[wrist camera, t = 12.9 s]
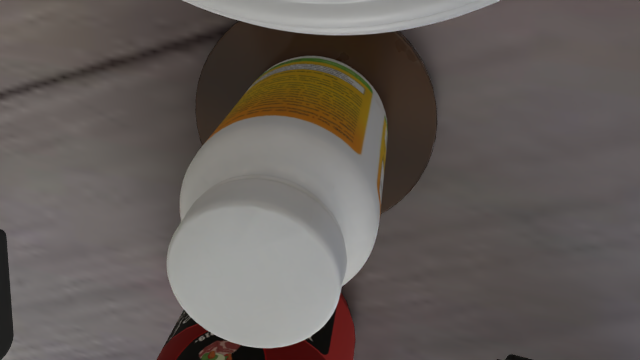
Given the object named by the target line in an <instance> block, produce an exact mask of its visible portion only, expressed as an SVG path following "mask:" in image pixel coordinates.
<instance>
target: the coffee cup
mask: <svg viewBox="0 0 640 360" xmlns="http://www.w3.org/2000/svg"><path fill="white" fill-rule="evenodd" d="M182 1H185V2H187V3H189V4H192V5H194V6H197V7H199V8H202V9H205V10H207V11H210V12H213V13H216V14H219V15H222V16H225V17H228V18H231V19H235V20H239V21H242V22H246V23H250V24H253V25H258V26H262V27H266V28H271V29H277V30H282V31H289V32H296V33H305V34H316V35H365V34H377V33H386V32H394V31H400V30H406V29H412V28H416V27H421V26H426V25H430V24H434V23H437V22H441V21H445V20H448V19H452V18H455V17H458V16H461V15H464V14H467V13H470V12H473V11H476V10H478V9H481V8H483V7H486V6H488V5H491V4H493V3H496V2H498V1H500V0H182Z"/></svg>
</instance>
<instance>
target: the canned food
mask: <svg viewBox="0 0 640 360" xmlns="http://www.w3.org/2000/svg"><path fill="white" fill-rule="evenodd" d="M354 347H355V330H354V324H353V321H352V317H351V314H350V311H349V308H348V305H347V302H346V300H345V298H344V297H343V295H342V293H340V298H339V301H338V304H337V307H336V309H335V311H334V313H333V314H332V316H331V317H330V319H329V320H328V321H327V323H326V324H325V325H324V326H323V327H322V328H321V329H320V330H319V331H317V332H316V333H315V334H313V335H312V336H310V337H309V338H307V339H305V340H303V341H301V342H298V343H296V344H292V345H288V346H284V347H276V348H255V347H248V346H242V345H239V344H236V343H232V342H230V341H227V340H225V339H223V338H220V337H218V336H216V335H214V334H213V333H211V332H209V331H208V330H206V329H205V328H203V327H202V326H201V325H199V324H198V323H197V322H195V321H194V320H193V319H192V318H191V317H190V316H189V315H188V313H187V312H186V311H185V310H184V311H183V313H182V314H181V316H180V318H179V320H178V322H177V323H176V325H175V327H174V329H173V331H172V333H171V334H170V336H169V338H168V340H167V342H166V343H165V345H164V347H163V349H162V351H161V353H160V354H159V356H158V358H157V360H353V356H354Z"/></svg>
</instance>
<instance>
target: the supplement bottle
mask: <svg viewBox="0 0 640 360" xmlns="http://www.w3.org/2000/svg"><path fill="white" fill-rule="evenodd" d="M387 137H388V130H387V118H386V113H385V110H384V107H383V104H382V101H381V99H380V97H379V95H378V94H377V92H376V91H375V89H374V88H373V86H372V85H371V84H370V83H369V82H368V81H367V80H366V79H365V78H364V77H363V76H362V75H361V74H360V73H358V72H357V71H356V70H354V69H353V68H351V67H350V66H348V65H346V64H344V63H342V62H340V61H337V60H334V59H331V58H326V57H321V56H302V57H296V58H291V59H288V60H285V61H283V62H280V63H278V64H276V65H274V66H273V67H271V68H269V69H268V70H267V71H265V72H264V73H263V74H262V75H261V76H260V77H259V78H258V79H257V80H256V81H255V82H254V83H253V84H252V85H251V87H250V88H249V89H248V90H247V91H246V93H245V94H244V95H243V97H242V98H241V99H240V100H239V102H238V103H237V104H236V105H235V107H234V108H233V109H232V110H231V112H230V113H229V114H228V115H227V117H226V118H225V119H224V120H223V121H222V123H221V124H220V125H219V126H218V128H217V129H216V130H215V131H214V132H213V134H212V135H211V136H210V137H209V138H208V140H207V141H206V142H205V143H204V145H203V146H202V147H201V148H200V150H199V151H198V152H197V154H196V156H195V157H194V159H193V160H192V162H191V163H190V165H189V167H188V169H187V171H186V174H185V176H184V179H183V183H182V187H181V193H180V218H181V223H180V225H179V226H178V228H177V229H176V231H175V233H174V235H173V237H172V239H171V241H170V244H169V248H168V253H167V275H168V279H169V282H170V285H171V288H172V291H173V293H174V295H175V297H176V298H177V300H178V302H179V303H180V305H181V306H182V308H183V309H184V310H185V311H186V312H187V313H188V315H189V316H190V317H191V318H192V319H193V320H194V321H195V322H197V323H198V324H199V325H201V326H202V327H203V328H205V329H206V330H208V331H209V332H211V333H213V334H214V335H216V336H218V337H220V338H223V339H225V340H227V341H230V342H232V343H236V344H239V345H242V346H248V347H255V348H276V347H284V346H288V345H292V344H296V343H298V342H301V341H303V340H305V339H307V338H309V337H310V336H312V335H313V334H315V333H316V332H317V331H319V330H320V329H321V328H322V327H323V326H324V325H325V324H326V323H327V321H328V320H329V319H330V317H331V316H332V314H333V313H334V311H335V309H336V307H337V304H338V301H339V298H340V293H341V288H342V286H343V285H345V284H346V283H347V282H348V281H350V280H351V279H352V278H353V277H354V276H355V275H356V274H357V273H358V272H359V271H360V269H361V268H362V267H363V265H364V264H365V263H366V261H367V259H368V257H369V256H370V254H371V251H372V249H373V246H374V244H375V240H376V237H377V232H378V228H379V221H380V214H381V200H382V189H383V179H384V169H385V161H386V150H387Z"/></svg>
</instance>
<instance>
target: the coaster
mask: <svg viewBox="0 0 640 360" xmlns="http://www.w3.org/2000/svg"><path fill="white" fill-rule="evenodd" d="M302 56H321V57H326V58H331V59H334V60H337V61H340V62H342V63H344V64H346V65H348V66H350V67H351V68H353V69H354V70H356V71H357V72H358V73H360V74H361V75H362V76H363V77H364V78H365V79H366V80H367V81H368V82H369V83H370V84H371V85H372V86H373V88H374V89H375V91H376V92H377V94H378V95H379V97H380V99H381V101H382V104H383V107H384V110H385V113H386V118H387V130H388V137H387V150H386V161H385V169H384V179H383V189H382V200H381V214H382V213H384V212H385V211H387V210H389V209H390V208H391V207H393V206H394V205H395V204H397V203H398V202H399V201H401V200H402V199H403V198H404V197H405V196H406V195H407V194H408V193H409V192H410V191H411V189H412V188H413V187H414V185H415V184H416V183H417V181H418V180H419V179H420V177H421V175H422V174H423V172H424V170H425V168H426V166H427V164H428V162H429V159H430V156H431V154H432V151H433V147H434V142H435V138H436V128H437V111H436V101H435V96H434V91H433V86H432V83H431V80H430V77H429V74H428V72H427V70H426V68H425V66H424V64H423V62H422V60H421V58H420V56H419V55H418V53H417V52H416V50H415V49H414V48H413V46H412V45H411V43H410V42H409V41H408V40H407V39H406V38H405V37H404V36H403V35H402V34H401V32H400V31H394V32H386V33H377V34H365V35H316V34H305V33H296V32H289V31H282V30H277V29H271V28H266V27H262V26H258V25H253V24H250V23H246V22H242V21H239V22H237V23H236V24H235V25H234V26H232V27H231V28H230V29H229V30H228V31H227V32H226V33H225V34H224V35H223V36H222V37H221V39H220V40H219V41H218V42H217V44H216V45H215V47H214V48H213V49H212V51H211V52H210V54H209V56H208V58H207V60H206V62H205V64H204V66H203V69H202V72H201V75H200V78H199V82H198V87H197V93H196V121H197V128H198V132H199V136H200V140H201V143H202V146H203V145H204V143H205V142H206V141H207V140H208V138H209V137H210V136H211V135H212V134H213V132H214V131H215V130H216V129H217V128H218V126H219V125H220V124H221V123H222V121H223V120H224V119H225V118H226V117H227V115H228V114H229V113H230V112H231V110H232V109H233V108H234V107H235V105H236V104H237V103H238V102H239V100H240V99H241V98H242V97H243V95H244V94H245V93H246V91H247V90H248V89H249V88H250V87H251V85H252V84H253V83H254V82H255V81H256V80H257V79H258V78H259V77H260V76H261V75H262V74H263V73H264V72H265V71H267V70H268V69H269V68H271V67H273V66H274V65H276V64H278V63H280V62H283V61H285V60H288V59H291V58H296V57H302Z"/></svg>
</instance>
